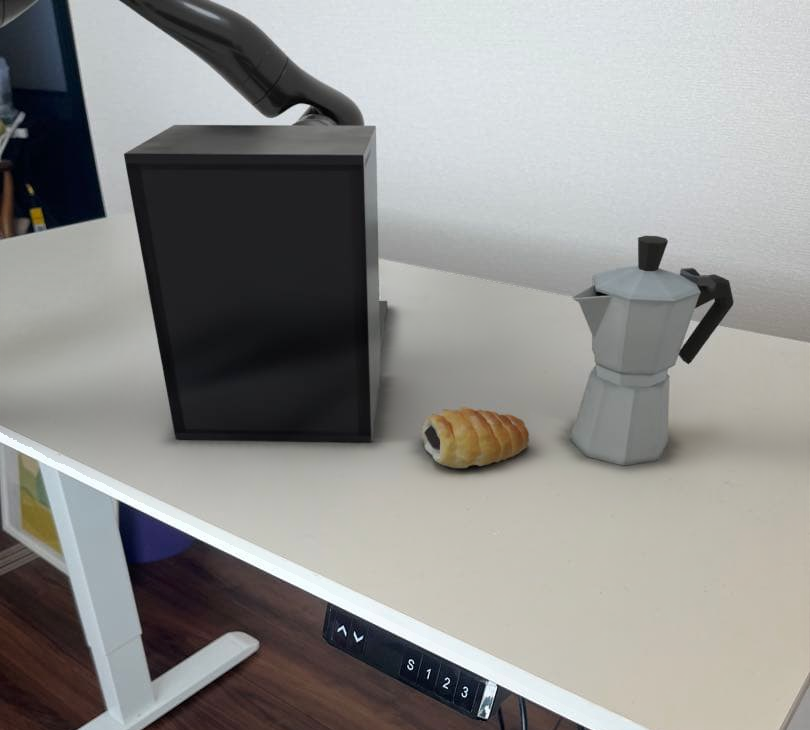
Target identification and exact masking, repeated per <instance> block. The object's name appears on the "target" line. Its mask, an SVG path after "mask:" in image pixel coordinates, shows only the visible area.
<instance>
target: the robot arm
mask: <svg viewBox="0 0 810 730" xmlns="http://www.w3.org/2000/svg"><path fill="white" fill-rule="evenodd" d="M118 1H119V2H120V3H122V4H123V5H125V6H126V7H128V8H129V9H130V10H132V11H133V12H135V13H136V14H138V15H139V16H140V17H142V18H143V19H145V20H146V21H147V22H149V23H150V24H152V25H153V26H154V27H156V28H157V29H159V30H160V31H162V33H165V34H166V35H168V36H169V37H170V38H172V39H173V40H174V41H176V42H178V43H179V44H180V45H182V46H183V47H184V48H185V49H187V50H188V51H190V52H191V53H192V54H194V55H195V56H197V57H198V58H199V59H200V60H201V61H203V62H204V63H205V64H207V66H209V67H210V68H211V69H212V70H213V71H214V72H216V74H218V75H219V76H220V77H221V78H222V79H223V80H224V81H225V82H226V83H228V85H230V86H231V87H232V89H234V90H235V92H237V93H238V94H239V95H241V96H242V97H243V99H245V100H246V101H247V102H248V103H249V104H250V105H251V106H252V107H253V108H254V109H255V110H256V111H257V112H258V113H260V114H261V115H262V116H264V117H265V118H266V119H267V118H268V119H274V118H277V117H279V116H280V115H282V114H284V113H285V112H286V111H288V110H290V109H291V108H293V107H295V106H297V105H306V106H308V108H307V109H306V110H305V111H304V112H303V113H302V114H301V116H299V118H298V119H297V121H296V122H294V123H292V124H291V125H324V126H366V124H365V119H364V115H363V113H362V111H361V109H360V108H359V106H358V105H357V103H356V102H355V101H353V100H352V99H351V98H350V97H349V96H347V95H346V94H345V93H342V91H340V90H338V89H336V88H334V87H332V86H330V85H329V84H327V83H325V82H322V81H321V80H320V79H318V78H316V77H315V76H313V75H312V74H310V73H308V72H307V71H306V70H305V69H304V68H303V69H302V68H301V67H300V66H299V65H298V64H297V63H296V62H295V61H294V60H293V59H291V58H290V57H289V56H288V55H287V54H286V52H284V50H283V49H282V48H280V47H279V46H278V44H276V43H275V42H274V41H273V40H272V39H271V37H270V36H268V34H266V32H265V31H263V30H262V29H261V28H260V27H259V26H258V25H257V24H255V23H254V22H253V21H252V20H251V19H249V18H248V17H246V16H244V15H243V14H241V13H239V12H237V11H236V10H234V9H232V8H229V7H226V6H225V5H222V4H220V3H217V2H215V1H213V0H118ZM37 2H39V0H0V29H1V28H3V27H5V26H6V25H8V24H9V23H11V22H12V21H14V20H16V19H17V18H18V17H20V16H21V15H22V14H23V13H25V12H26V11H28V9H30V8H31V7H32V6H34V5H35V4H36V3H37Z"/></svg>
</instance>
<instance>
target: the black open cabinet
mask: <svg viewBox="0 0 810 730" xmlns="http://www.w3.org/2000/svg"><path fill="white" fill-rule="evenodd" d="M377 156H378V155H377V126H376V125H365V126H324V125H292V124H291V125H289V124H288V125H287V124H286V125H285V124H280V125H279V124H173V125H171V126H170V127H168V128H165V130H162V131H161V132H159V133H157V134H155V135H154V136H152V137H151V138H149V139H147V140H145V141H143V142H142V143H140V144H139V145H136V146H135V147H133V148H132V149H130V150H128V151H126V152H125V153H123V157H124V163H125V170H126V175H127V181H128V187H129V191H130V196H131V203H132V209H133V213H134V214H133V215H134V218H135V224H136V229H137V236H138V241H139V247H140V252H141V258H142V263H143V268H144V274H145V279H146V284H147V290H148V295H149V301H150V307H151V312H152V317H153V318H152V319H153V323H154V329H155V334H156V340H157V346H158V351H159V356H160V357H159V358H160V362H161V368H162V372H163V378H164V385H165V389H166V394H167V395H166V396H167V401H168V405H169V411H170V417H171V422H172V428H173V432H174V438H175V440H201V441H203V440H204V441H206V440H208V441H258V442H259V441H260V442H261V441H265V442H268V441H269V442H323V443H324V442H325V443H372V440H373V434H374V429H375V428H374V427H375V421H376V413H377V407H378V401H379V396H380V395H379V394H380V387H381V380H382V371H381V368H382V367H381V364H382V363H381V352H382V351H381V350H382V346H383V338H384V332H385V326H386V325H385V324H386V322H387V321H386V320H387V314H388V300H380V266H379V261H380V260H379V217H378V216H379V215H378V214H379V212H378V209H379V208H378V165H377V164H378V162H377V159H378V157H377Z"/></svg>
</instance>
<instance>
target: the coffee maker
mask: <svg viewBox="0 0 810 730" xmlns="http://www.w3.org/2000/svg"><path fill="white" fill-rule="evenodd" d="M668 243H669V240H668V239H667V237H662V236H658V235H642V236H639V237H637V265H636V266H635V265H634V266H625V267H617V268H614V269H611V270H608V271H604V272H600V273H597V274H593V275H592V278H591V280H592V281H591V282H592V283H591V286H589V287H588V288H586V289H583V290H582V291H581V292H579V293H577V294H576V295H574V296H573V297H571V299H572V300H573V301H576V302H577V303H578V304H579V307H580V309H581V312H582V314H583V316H584V319H585V321H586V324H587V325H588V329H589V331H590V334H591V351H592V353H593V358H594V363H595V365H594V366H593V368H592V369H591V370H590V372H589V375H588V379H587V382H586V385H585V388H584V392H583V395H582V399H581V402H580V405H579V408H578V411H577V414H576V417H575V421H574V424H573V428H572V431H571V435H570V437H569V441H571V443H572V444H573V445H574V446H576V448H577V449H578V450H579V451H581V453H582V454H583V455H585V457H587V458H592V459H595V460H599V461H603V462H607V463H612V464H616V465H618V466H619V465H620V466H629V465H635V464H643V463H649V462H655V461H660V460H659V459H660V458H661V456H662V454H663V453H664V451H665V449H666V448H667V447H668V444H669V443H668V441H669V413H670V412H669V410H670V408H669V407H670V375H669V374H668V371H669V369H670V368H673V367H674V366H676V363H677V361H678V359H679V358H680V359H681V360H682V361H683V362H684V363H685V364H687V365H690V364H691V363H692V362H693V360H694V359H695V358H696V356H697V355H698V354H699V352H700V351H701V350H702V348H703V347H704V345H705V344H706V343H707V342H708V340H709V339H710V337H711V336H712V334H713V333H714V332H715V331H716V329H717V328H718V326H720V323H722V321H723V320H724V319H725V317H726V315H727V314H728V313H729V312H730V310H731V308H733V306H734V297H733V293H732V292H733V291H732V288H731V283H730V280H729V279H727V278H725V277H722V276H720V275H718V274H715V273H714V274H703V275H701V274H700V273H699V272H698V271H697V270H696V268H694V267H686V268H685V267H684V268H683V267H682V268H680V271H679V273H676V272H672V271H669V270H666V269H663V268H660V266H661V262H662V259H663V257H664V253H665V252H666V248H667V246H668ZM713 300H714V301H713ZM711 301H713V303H712V305H711V306H710V307H709V309H708V310H707V312H706V313H705V314H704V316H703V317H702V319H701V320H700V321H699V323H698V324H697V325H696V327H695V329H694V330H693V331H692V333H691V334H690V335H689V337H688V338H687V340H686V341H685V343H684V340H685V338H686V335H687V332H688V328H689V326H690V323H691V321H692V318H693V314H694V312H695V309H697V308H699V307H701V306H703V305H705V304H707V303H709V302H711Z"/></svg>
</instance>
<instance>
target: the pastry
mask: <svg viewBox="0 0 810 730" xmlns="http://www.w3.org/2000/svg"><path fill="white" fill-rule="evenodd" d="M420 436H421V438H422V440H423V443H424V445H423V447H424V449H425V451H426V452H428V454H429V455H431V456H432V458H433V460H434V461H435V462H436V463H437V464H439V465H442V466H444V467H448V468H450V469H467V468H468V467H470V466H478V467H483V466H488V465H490V464H492V463H499V462H501V461H503V460H504V461H506V460H507V459H511V458H513V457H515V456H516V455H519V454H520V453H521V452H522V451H524V450H525V449H526V448H527V447H528V445H529V442H530V433H529V430H528V428H527V427H526V424H525V422H524V421H523V419H521V418H518V417H516V416H514V415H512V414H508V413H506V414H500V413H498V412H496V411H489V410H483V409H476V410H475V409H473V408H470V407H469V408H468V407H461V408H459V409H458V410H454V409H442V410H441V411H440V413H438V414H429V415H428V416H427V419H426V420H425V422H424V423H423V424H422V428H421V433H420Z"/></svg>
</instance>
